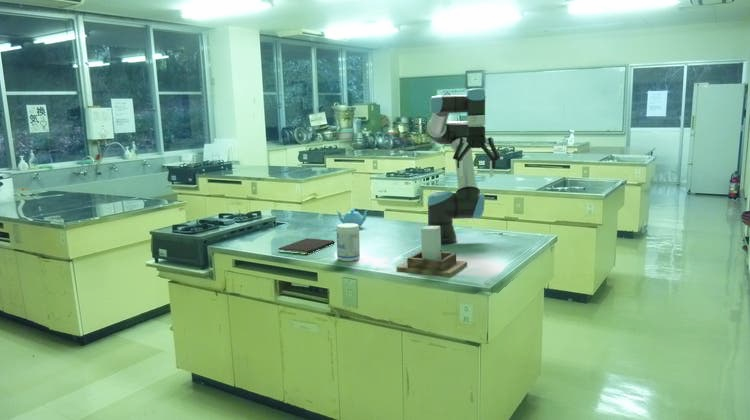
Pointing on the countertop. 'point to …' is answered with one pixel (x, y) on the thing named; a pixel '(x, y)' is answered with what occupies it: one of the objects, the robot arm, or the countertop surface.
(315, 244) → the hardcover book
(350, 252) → the supplement tub
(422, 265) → the bottle stand
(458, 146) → the robot arm
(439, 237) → the skincare box
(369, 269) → the countertop surface
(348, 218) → the teapot
